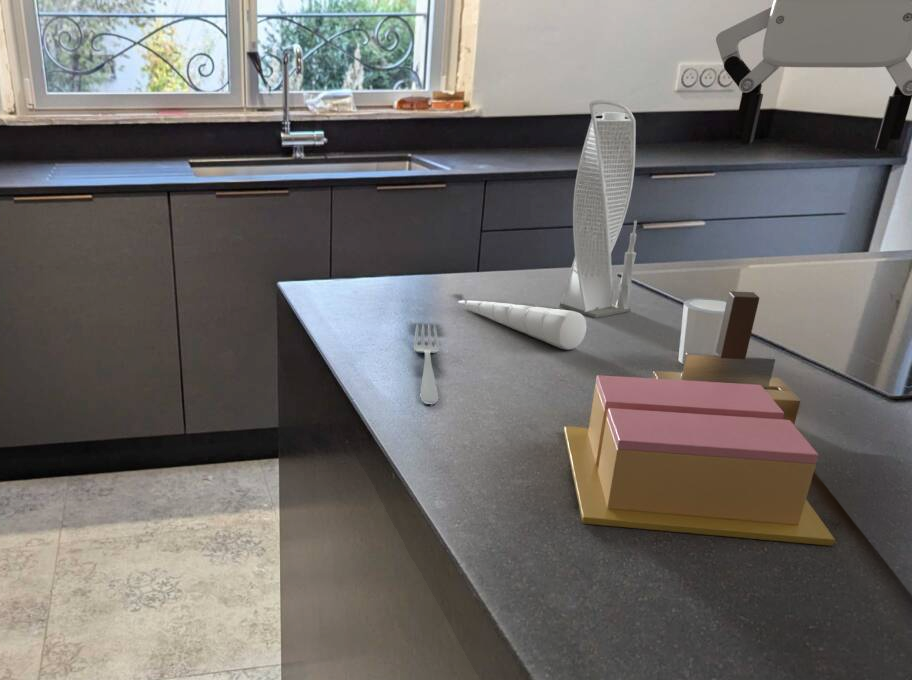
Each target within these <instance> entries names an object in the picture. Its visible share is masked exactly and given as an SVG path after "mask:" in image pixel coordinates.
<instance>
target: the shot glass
mask: <svg viewBox="0 0 912 680" xmlns="http://www.w3.org/2000/svg"><path fill="white" fill-rule="evenodd" d="M726 303H727V299H722V298H705V297H701V298H697V297H696V298H689V299H687V300H684V301H683V308H682V317H681V319H682V320H681V329H680V339H679V351H678V362H679V363H680V364H682V365H684V360H685V355H686V353H698V354H716V355H718V354H717V352H716V349H717V344H718V340H719V335H720V330H721V326H722V321H723V316H724V312H725V307H726Z"/></svg>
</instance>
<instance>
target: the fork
mask: <svg viewBox="0 0 912 680" xmlns="http://www.w3.org/2000/svg"><path fill="white" fill-rule="evenodd" d="M420 332H421V333H420V344H418V342H419V323H416V327H415V332H414V340H413V347H414V348H413V351H415V353H421V354H422V353H424V362H423V363H424V364H423V370H422V371H423V372H422V378H421V385H420V391H421V393H419V398H420V397H422V398H421V399H424V400H423V401H425V402H428V403H432V404H434V403H436V402H437V401H438V402H439V400H440V397H439V391H438V387H437V383H436V379H435V378H436V377H435V373H434V370H433V365H432V358H431V354H437V353H438V352H439V351H440V345H439V341H438V333H437V332H438V331H437V326H436V324H435V323H434V324H433V339H434V345H433V344H432V332H431V324H430V323H428V324H427V344H425V324H424V323H422V325H421V331H420ZM421 399H420V400H421ZM438 399H439V400H438ZM438 402H437V403H438ZM437 403H436V404H437Z"/></svg>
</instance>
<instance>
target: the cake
mask: <svg viewBox="0 0 912 680" xmlns="http://www.w3.org/2000/svg"><path fill="white" fill-rule="evenodd" d="M593 393H594V394H593V399H592V405H591V412H590V419H589V423H588V424H589V426H588V427H583V426H582V427H580V426H567V425H566V426H564V428H563V435H564V439H565V444H566V448H567V449H566V450H567V454H568V459H569V465H570V468H571V474H572V479H573V484H574V488H575V489H574V490H575V494H576V499H577V503H578V509H579V514H580V520H581V523H582V524H585V525H593V526H594V525H597V526H606V527H617V528H629V529H640V530H641V529H642V530H649V531H650V530H651V531H660V532H661V531H662V532H673V533H682V534H683V533H684V534H685V533H686V534H694V535H695V534H696V535H706V536H715V537H716V536H717V537H718V536H719V537H727V538H728V537H729V538H741V539H752V540H760V541H761V540H765V541H775V542H784V543H795V544H796V543H797V544H807V545H817V546H828V547H834V546H835V543H836V538H835V537H834V536H833V534H832V533H831V531H830V530H829V528H827V526H826V524H825V523H824V521H822V518H820V517H819V515H818V513H817V512H816V511H815V509H814V507H812V505H811V504H810V502H809V501H808V500H807V497H808V495H809V490H810V487H811V483H812V480H813V476H814V472H815V471H816V470H815V469H816V464H817V463H818V459H819V453H818V451H816V450H815V448H814V447H813V445H811V443H810V442H809V441H808V440H807V438H806V437H805V436H804V435H803V434H802V433H801V432H800V430H799V428H797V427H796V426H795V424H793V423H792V422H791V421H790V420H783V416H784V412H783V411H782V410H781V409H780V407H779V406H778V405H777V404H776V403H775V401H774V400H773V399H772V398H771V397H770V395H769V394H768V393H767V392H766V391H765V389H764V388H763V387H762V386H761V385H754V384H737V383H720V382H704V381H687V380H670V379H653V378H652V377H633V376H618V375H617V376H616V375H602V374H601V375H600V374H597V375H596V378H595V385H594V392H593Z"/></svg>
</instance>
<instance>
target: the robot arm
mask: <svg viewBox="0 0 912 680" xmlns="http://www.w3.org/2000/svg"><path fill="white" fill-rule="evenodd" d="M763 30H765V34H764V38H763V45H762V60H761V61H760V62H759V63H758V64H757V65H756V66H755V67H754V68H752V69H750V68H749V67H748V65H747V64H746V63H745V62H744V61H743V59H742V57H741V53H740V50H739V44H740V42H741V41H743V40H744V39H747V38H749V37H751V36H752V35H755V34H758V33H759V32H761V31H763ZM715 42H716V46H717V49H718V51H719V55H720V59H721V60H722V64H723V68H724V71H725V72H726V73H727V74H728V76H729V77H730V78H731V80H732V81H733V82H734V83H735V84H736V86H737V87H738V88H739V91H740V92H741V96H740V102H739V107H738V112H737V117H736V121H735V126H734V132H733V134H734V135H741V136H740V137H741V138H740V142H739V145H740V146H748V145H750V144H752V143H753V142H754V139H755V134H756V129H757V126H758V121H759V116H760V112H761V108H762V102H763V97H764V93H762V86H763V84H764V82H765V81H767V80H768V78H770V77H771V76H772V75H773V74H774V73H775V72H776V71H777V70H779V68H780V67H782V68H845V69H846V68H847V69H848V68H855V69H856V68H857V69H858V68H860V69H861V68H863V69H865V68H885V70H886V71H887V72H888V74H889V76H890V77H891V79H892V80H893V82H894V84H895V85H896V86H895V87H894V90H893V94H892V95H889V96H888V99H887V103H886V107H885V110H884V114H883V117H882V120H881V124H880V129H879V131H878V135H877V139H876V142H875V146H874V148H875V150H877V151H878V152H884V153H885V152H887V150H888V146H889V142H890V141H900V140H901V136H902V135H903V134H902V133H903V130H904V127H905V123H906V119H907V116H908V114H909V113H908V112H909V110H910V106H911V102H912V67H911V65H910V63H909V61H908V60H907V58H908V57H909V56H910V55H911V52H912V0H773V1H772V6H771V7H768V8H767V9H764V10H763V11H761V12H759V13H757V14H754V15H752V16H750V17H749V18H746V19H744V20H742V21H741V22H738V23H736V24H734V25H733V26H730V27H729V28H726V29H724V30H722V31H720V32H719V33H718V34H717V35H716V38H715Z"/></svg>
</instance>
